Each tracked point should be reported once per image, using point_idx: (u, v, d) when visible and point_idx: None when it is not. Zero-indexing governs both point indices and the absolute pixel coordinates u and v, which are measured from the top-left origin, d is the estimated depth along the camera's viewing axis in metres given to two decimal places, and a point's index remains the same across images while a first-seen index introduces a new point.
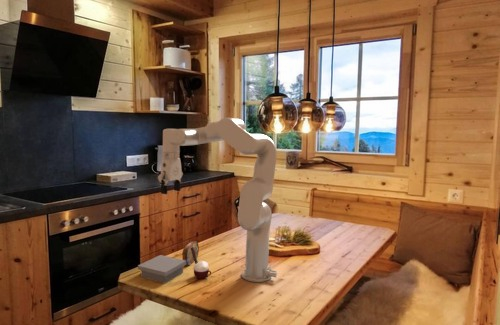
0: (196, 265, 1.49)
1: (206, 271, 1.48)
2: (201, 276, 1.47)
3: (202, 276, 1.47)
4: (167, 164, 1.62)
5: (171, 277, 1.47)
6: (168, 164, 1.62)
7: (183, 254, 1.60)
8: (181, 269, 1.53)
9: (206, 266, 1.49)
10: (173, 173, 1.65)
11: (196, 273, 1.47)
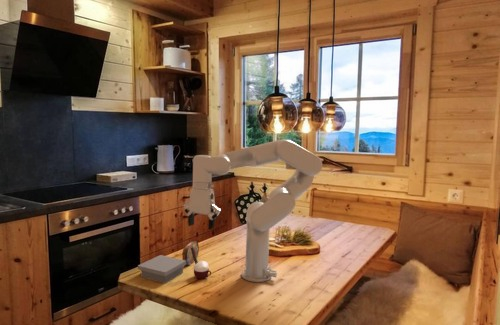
0: (196, 265, 1.49)
1: (206, 271, 1.48)
2: (201, 276, 1.47)
3: (202, 276, 1.47)
4: (213, 195, 1.46)
5: (171, 277, 1.47)
6: None
7: (183, 254, 1.60)
8: (181, 269, 1.53)
9: (206, 266, 1.49)
10: None
11: (196, 273, 1.47)
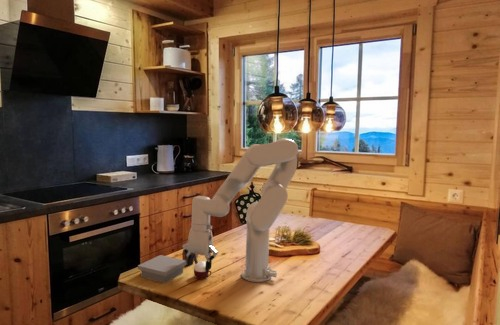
0: (196, 265, 1.49)
1: (206, 271, 1.48)
2: (201, 276, 1.47)
3: (202, 276, 1.47)
4: (212, 236, 1.48)
5: (171, 277, 1.47)
6: None
7: (183, 254, 1.60)
8: (181, 269, 1.53)
9: None
10: None
11: (196, 273, 1.47)
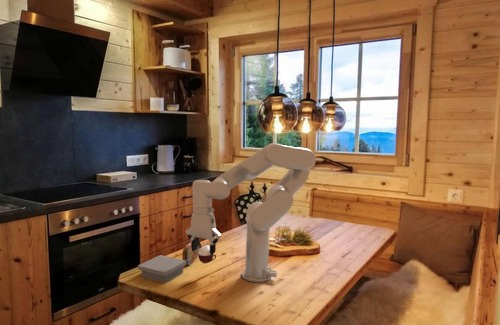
0: (200, 249, 1.48)
1: (211, 255, 1.47)
2: (206, 260, 1.47)
3: (207, 260, 1.47)
4: (214, 219, 1.47)
5: (171, 277, 1.47)
6: (214, 218, 1.48)
7: (183, 254, 1.60)
8: (181, 269, 1.53)
9: None
10: None
11: (201, 257, 1.47)
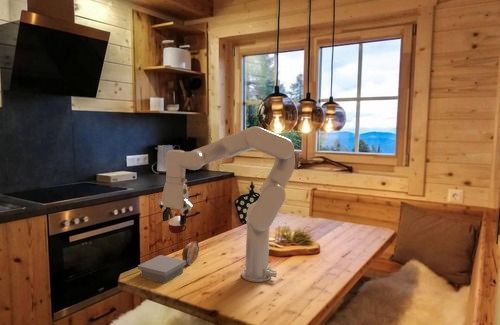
0: (171, 219, 1.47)
1: (181, 225, 1.47)
2: (176, 230, 1.46)
3: (177, 230, 1.46)
4: (187, 190, 1.47)
5: (171, 277, 1.47)
6: (187, 189, 1.47)
7: (183, 254, 1.60)
8: (181, 269, 1.53)
9: None
10: None
11: (171, 227, 1.46)
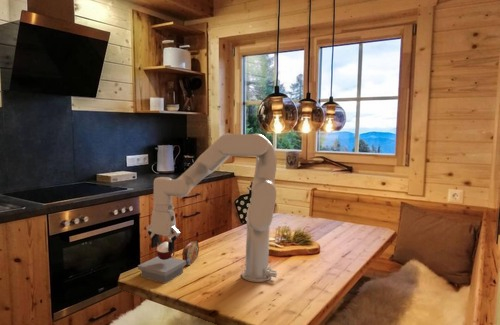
0: (159, 246, 1.49)
1: (169, 252, 1.48)
2: (164, 257, 1.47)
3: (165, 257, 1.48)
4: (174, 216, 1.48)
5: (171, 277, 1.47)
6: (174, 216, 1.49)
7: (183, 254, 1.60)
8: (181, 269, 1.53)
9: None
10: None
11: (159, 254, 1.48)
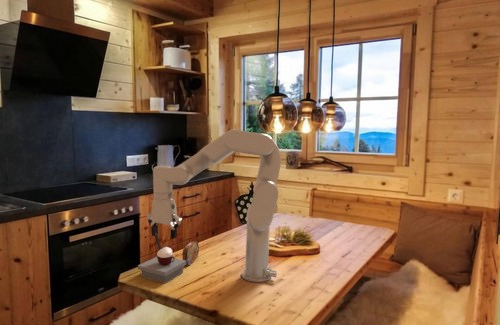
0: (160, 251, 1.49)
1: (169, 257, 1.49)
2: (164, 262, 1.48)
3: (165, 262, 1.48)
4: (175, 204, 1.48)
5: (171, 277, 1.47)
6: (175, 204, 1.48)
7: (183, 254, 1.60)
8: (181, 269, 1.53)
9: (169, 252, 1.49)
10: None
11: (159, 259, 1.48)
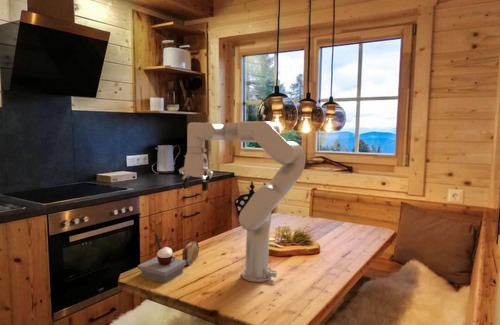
0: (159, 251, 1.49)
1: (169, 257, 1.49)
2: (164, 262, 1.48)
3: (165, 262, 1.48)
4: (206, 159, 1.58)
5: (171, 277, 1.47)
6: None
7: (183, 254, 1.60)
8: (181, 269, 1.53)
9: (169, 252, 1.49)
10: None
11: (159, 259, 1.48)
